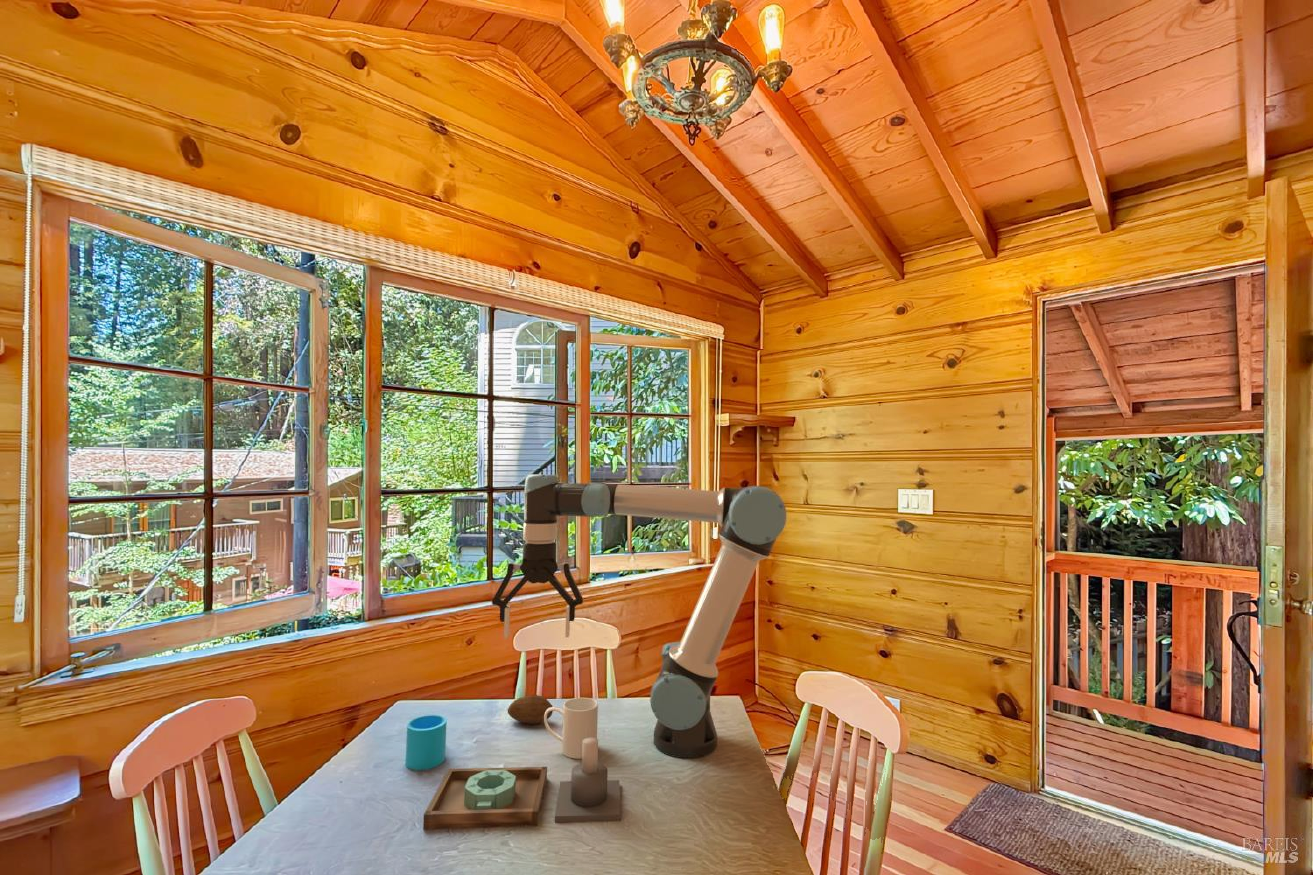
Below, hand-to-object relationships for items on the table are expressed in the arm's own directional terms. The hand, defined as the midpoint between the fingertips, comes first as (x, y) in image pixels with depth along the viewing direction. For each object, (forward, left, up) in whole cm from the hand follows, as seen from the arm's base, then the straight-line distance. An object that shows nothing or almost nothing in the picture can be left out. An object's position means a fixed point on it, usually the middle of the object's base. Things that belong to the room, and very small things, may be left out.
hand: (537, 636), depth 131 cm
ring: (+6, +18, -26) cm, 32 cm away
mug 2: (-8, -2, -27) cm, 28 cm away
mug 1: (+23, -1, -27) cm, 35 cm away
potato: (+3, -18, -27) cm, 33 cm away
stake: (-13, +19, -27) cm, 35 cm away
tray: (+6, +18, -27) cm, 32 cm away
